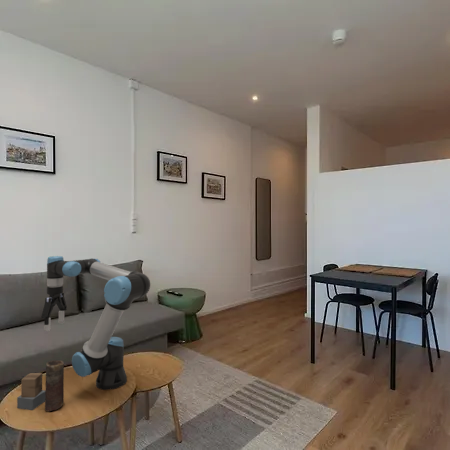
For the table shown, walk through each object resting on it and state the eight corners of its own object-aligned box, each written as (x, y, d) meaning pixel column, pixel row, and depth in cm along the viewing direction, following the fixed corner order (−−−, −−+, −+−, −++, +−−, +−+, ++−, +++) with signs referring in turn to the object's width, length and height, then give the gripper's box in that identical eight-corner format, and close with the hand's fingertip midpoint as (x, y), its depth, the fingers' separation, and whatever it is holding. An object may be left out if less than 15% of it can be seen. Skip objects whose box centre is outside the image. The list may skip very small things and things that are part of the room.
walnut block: (29, 390, 150) (29, 373, 150) (42, 390, 150) (42, 373, 150) (21, 397, 144) (21, 379, 144) (34, 397, 144) (35, 379, 144)
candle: (51, 402, 148) (51, 358, 148) (67, 402, 148) (67, 359, 148) (41, 412, 141) (41, 365, 141) (57, 412, 140) (58, 366, 141)
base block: (46, 401, 150) (46, 390, 150) (32, 410, 142) (32, 399, 142) (31, 399, 151) (31, 388, 151) (17, 408, 144) (17, 397, 144)
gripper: (60, 281, 181) (60, 319, 180) (33, 290, 156) (32, 334, 156) (73, 282, 181) (73, 320, 180) (48, 290, 156) (48, 334, 155)
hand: (54, 326), depth 168 cm, fingers open, 13 cm apart
